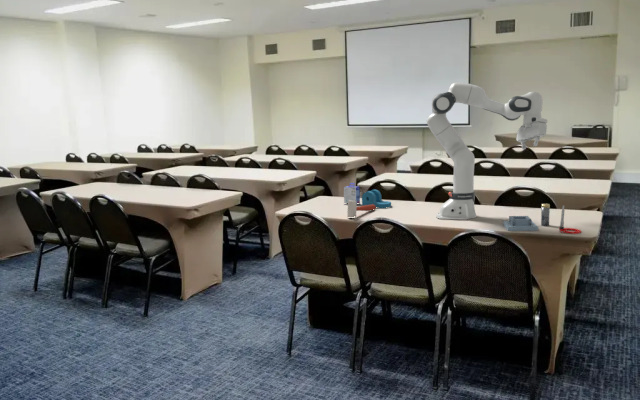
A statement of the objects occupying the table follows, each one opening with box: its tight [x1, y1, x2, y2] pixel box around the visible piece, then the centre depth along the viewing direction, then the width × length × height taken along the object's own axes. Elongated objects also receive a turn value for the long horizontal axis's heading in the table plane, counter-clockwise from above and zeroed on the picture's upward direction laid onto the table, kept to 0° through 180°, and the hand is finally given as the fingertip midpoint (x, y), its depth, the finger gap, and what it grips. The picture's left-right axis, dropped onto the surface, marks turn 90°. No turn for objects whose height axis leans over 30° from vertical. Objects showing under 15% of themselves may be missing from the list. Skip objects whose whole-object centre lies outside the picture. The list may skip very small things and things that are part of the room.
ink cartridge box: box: [343, 182, 361, 204], centre depth 349 cm, size 10×6×14 cm, turn 57°
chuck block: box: [502, 215, 539, 232], centre depth 261 cm, size 14×14×5 cm
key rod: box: [540, 203, 551, 227], centre depth 262 cm, size 4×4×11 cm
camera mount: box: [361, 189, 392, 209], centre depth 337 cm, size 18×10×10 cm, turn 57°
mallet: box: [346, 201, 377, 218], centre depth 315 cm, size 11×4×30 cm
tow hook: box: [558, 205, 582, 235], centre depth 247 cm, size 8×13×9 cm
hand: (529, 147), depth 274 cm, fingers open, 8 cm apart
